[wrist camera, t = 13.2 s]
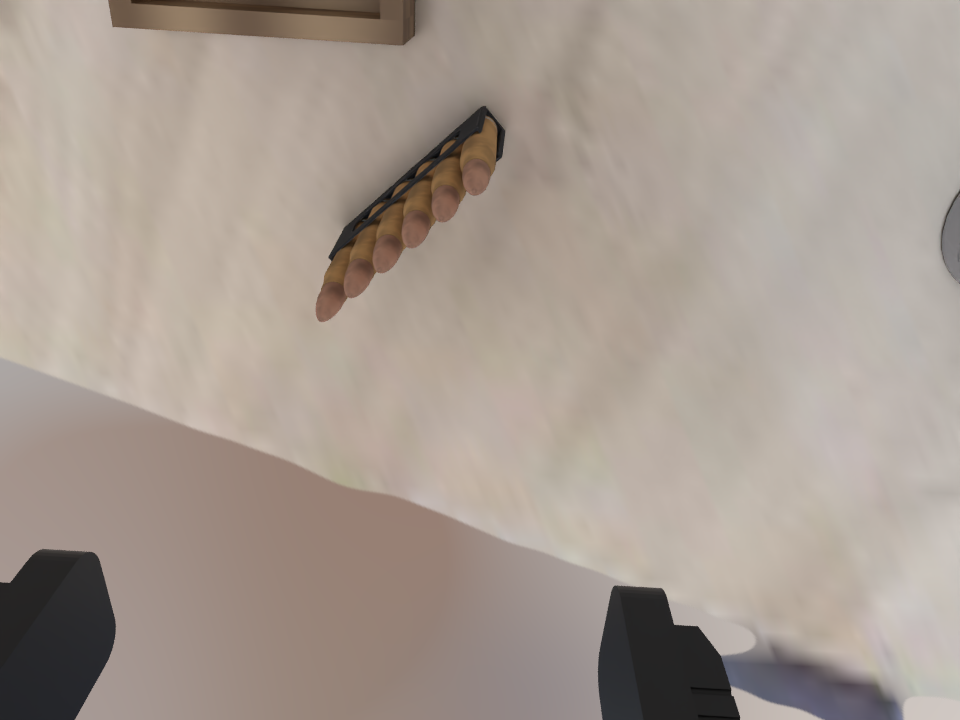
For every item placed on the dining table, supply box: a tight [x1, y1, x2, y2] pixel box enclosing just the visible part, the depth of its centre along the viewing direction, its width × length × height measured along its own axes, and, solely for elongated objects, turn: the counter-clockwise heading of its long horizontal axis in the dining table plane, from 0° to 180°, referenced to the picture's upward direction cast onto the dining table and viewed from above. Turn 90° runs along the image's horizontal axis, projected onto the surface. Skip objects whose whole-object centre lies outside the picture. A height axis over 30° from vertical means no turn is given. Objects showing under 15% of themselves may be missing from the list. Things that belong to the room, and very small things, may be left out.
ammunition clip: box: [316, 106, 505, 322], centre depth 35 cm, size 11×2×12 cm, turn 130°
